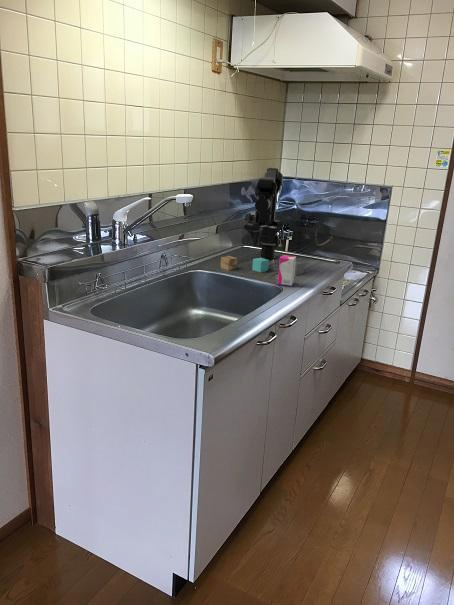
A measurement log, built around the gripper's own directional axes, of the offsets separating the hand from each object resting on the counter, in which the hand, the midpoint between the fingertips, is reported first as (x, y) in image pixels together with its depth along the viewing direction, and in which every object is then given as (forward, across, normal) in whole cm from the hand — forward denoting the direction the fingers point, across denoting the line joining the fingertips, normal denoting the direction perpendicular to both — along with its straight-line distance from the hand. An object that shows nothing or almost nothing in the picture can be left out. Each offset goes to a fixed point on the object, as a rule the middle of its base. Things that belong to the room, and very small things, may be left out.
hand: (262, 244), depth 217 cm
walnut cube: (+12, +10, -10) cm, 18 cm away
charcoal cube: (+12, -10, +12) cm, 20 cm away
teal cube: (+12, 0, 0) cm, 12 cm away
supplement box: (+12, +7, +21) cm, 25 cm away
